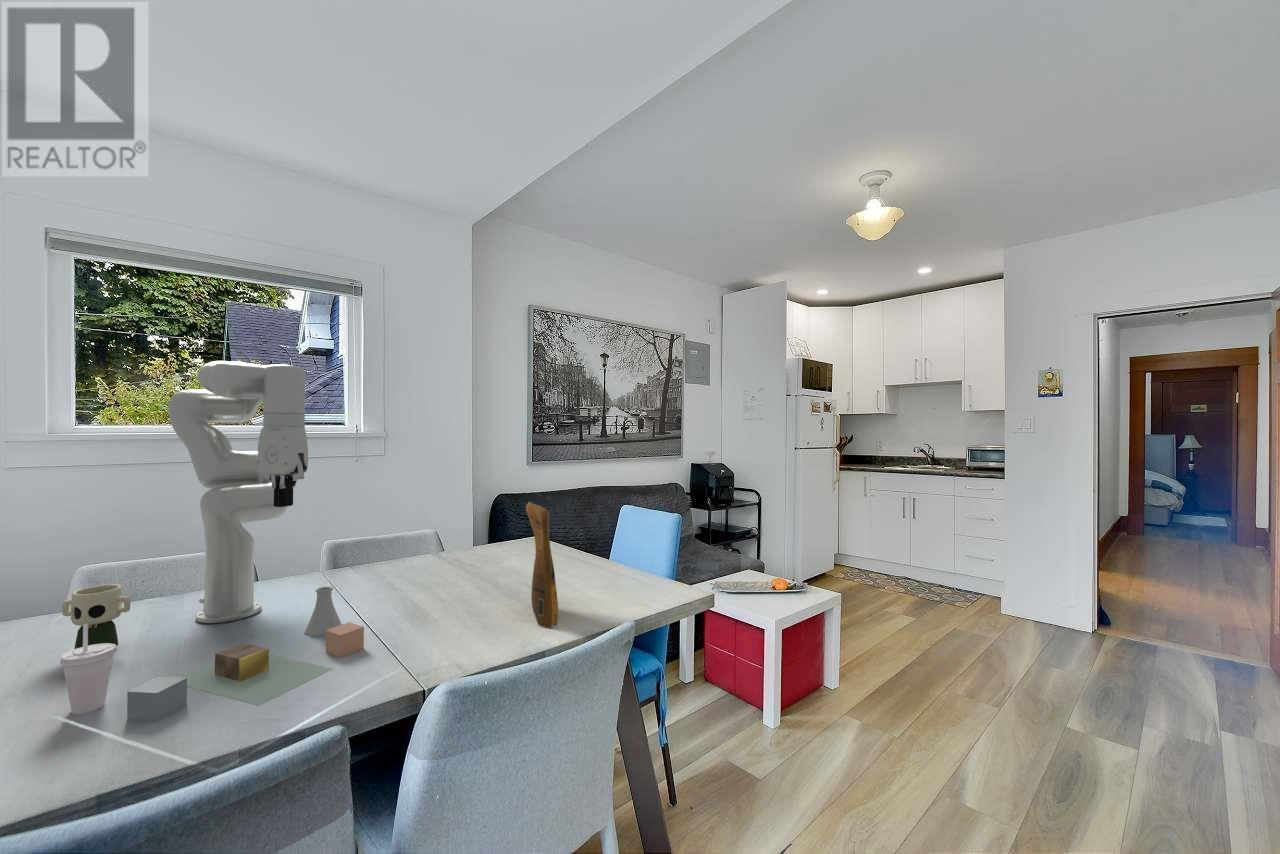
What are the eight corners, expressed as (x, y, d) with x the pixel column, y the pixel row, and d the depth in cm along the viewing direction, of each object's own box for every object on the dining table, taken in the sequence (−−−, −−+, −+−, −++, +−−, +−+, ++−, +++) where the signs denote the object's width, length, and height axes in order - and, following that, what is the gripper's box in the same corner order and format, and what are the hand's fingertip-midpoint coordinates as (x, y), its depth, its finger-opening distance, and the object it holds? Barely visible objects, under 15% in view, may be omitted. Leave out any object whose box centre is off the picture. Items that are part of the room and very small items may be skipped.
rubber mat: (165, 682, 95) (165, 680, 95) (245, 651, 108) (245, 649, 108) (258, 707, 87) (258, 705, 87) (333, 670, 100) (333, 668, 100)
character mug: (48, 663, 101) (48, 596, 101) (75, 648, 108) (76, 585, 108) (118, 657, 104) (118, 592, 104) (140, 643, 111) (141, 582, 111)
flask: (325, 640, 114) (325, 594, 114) (296, 637, 115) (297, 592, 115) (349, 628, 121) (350, 584, 121) (322, 625, 122) (323, 582, 122)
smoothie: (86, 700, 88) (87, 617, 88) (127, 699, 89) (127, 616, 89) (46, 721, 82) (47, 632, 82) (90, 720, 83) (91, 631, 83)
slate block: (127, 723, 82) (127, 691, 82) (158, 706, 87) (159, 676, 87) (156, 725, 82) (156, 693, 82) (186, 707, 87) (187, 677, 87)
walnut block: (241, 681, 95) (214, 675, 97) (268, 669, 99) (242, 663, 102) (241, 659, 95) (215, 653, 97) (268, 648, 99) (243, 643, 102)
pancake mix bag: (533, 633, 119) (534, 510, 119) (524, 605, 137) (525, 499, 137) (562, 629, 121) (564, 509, 121) (549, 603, 139) (551, 498, 139)
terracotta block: (325, 654, 107) (325, 630, 107) (349, 645, 112) (349, 622, 112) (340, 660, 105) (340, 635, 105) (363, 650, 109) (363, 626, 109)
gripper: (242, 421, 113) (241, 506, 113) (292, 422, 108) (291, 511, 108) (276, 421, 120) (275, 501, 120) (325, 422, 115) (324, 505, 115)
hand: (283, 505), depth 114 cm, fingers closed
